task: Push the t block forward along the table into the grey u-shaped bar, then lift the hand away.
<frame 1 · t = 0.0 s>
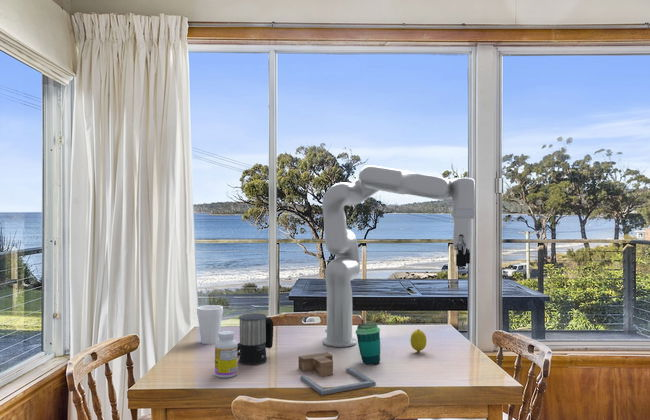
hand: (463, 264, 170), 31 cm above the table, tool pointing down, fingers open, 9 cm apart
supplement bottle: (226, 375, 151), on the table
milk frother: (246, 358, 168), on the table
lemon: (418, 352, 175), on the table
cup: (367, 362, 164), on the table
foam cup: (209, 342, 188), on the table
grey u-shaped bar: (336, 381, 145), on the table
t block: (315, 368, 157), on the table
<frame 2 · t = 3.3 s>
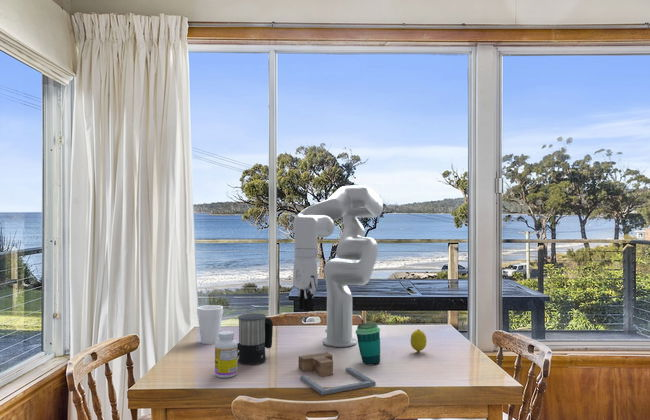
hand: (305, 309, 164), 17 cm above the table, tool pointing down, fingers closed
nothing on the table moved.
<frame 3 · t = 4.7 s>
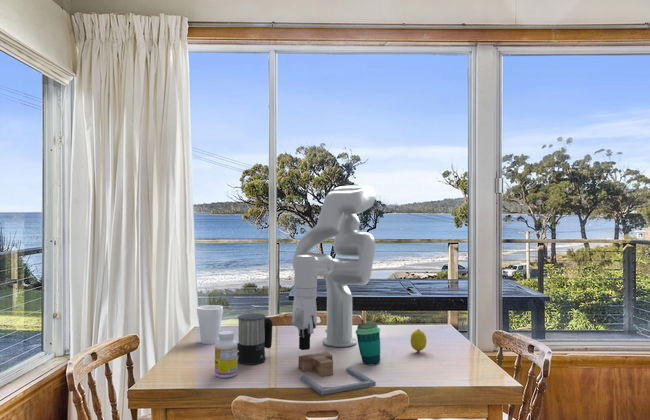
hand: (304, 349, 163), 4 cm above the table, tool pointing down, fingers closed
nothing on the table moved.
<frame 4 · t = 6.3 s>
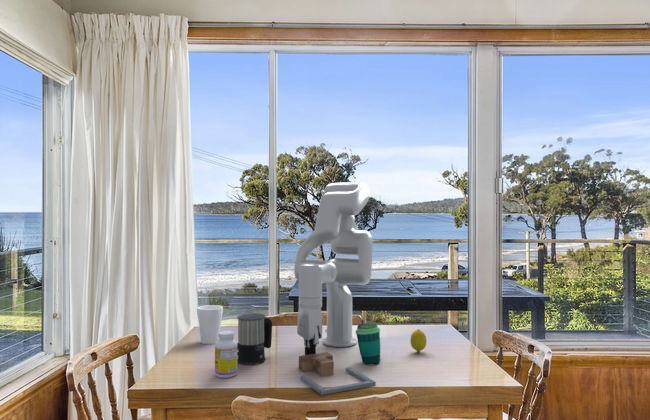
hand: (310, 359, 161), 2 cm above the table, tool pointing down, fingers closed
t block: (315, 368, 157), on the table, touching gripper
everything else where it was.
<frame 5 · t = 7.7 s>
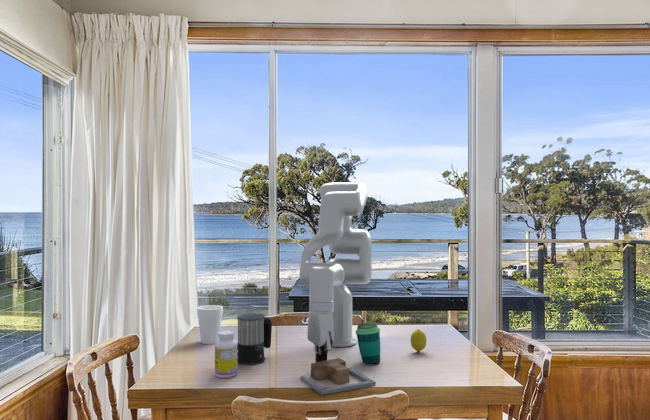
hand: (321, 366, 154), 2 cm above the table, tool pointing down, fingers closed
t block: (328, 375, 150), on the table, touching gripper
everything else where it was.
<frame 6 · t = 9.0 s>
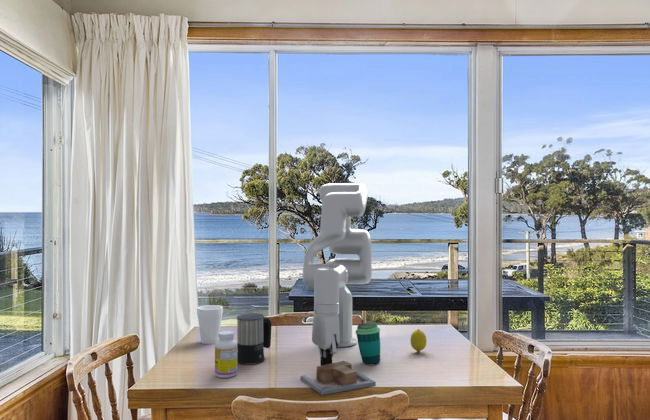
hand: (326, 369, 151), 2 cm above the table, tool pointing down, fingers closed
t block: (334, 378, 147), on the table, touching gripper
everything else where it was.
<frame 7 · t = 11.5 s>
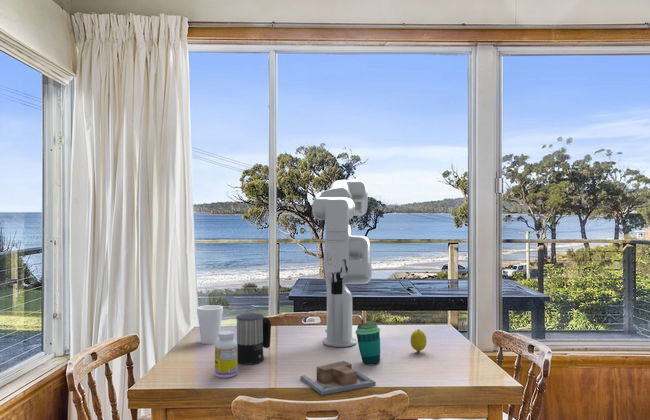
hand: (336, 293, 160), 23 cm above the table, tool pointing down, fingers closed
t block: (334, 379, 147), on the table
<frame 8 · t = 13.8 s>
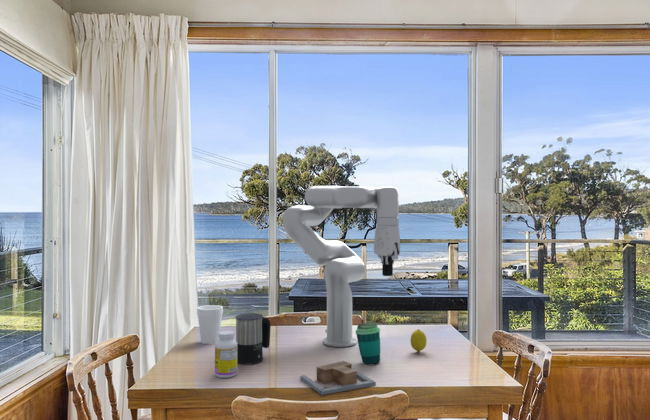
hand: (387, 275, 173), 27 cm above the table, tool pointing down, fingers closed
at the end: t block inside the target area (0.7 cm from its centre), on the table; t block tilted 1°; t block touching table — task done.
